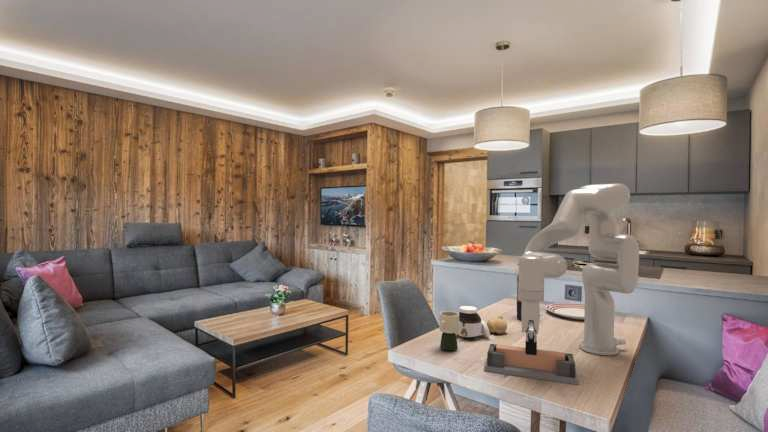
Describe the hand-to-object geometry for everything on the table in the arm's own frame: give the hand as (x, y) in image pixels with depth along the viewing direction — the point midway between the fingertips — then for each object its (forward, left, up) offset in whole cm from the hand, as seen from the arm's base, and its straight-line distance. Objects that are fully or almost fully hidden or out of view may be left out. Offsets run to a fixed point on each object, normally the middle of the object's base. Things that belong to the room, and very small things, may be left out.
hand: (531, 348), depth 124 cm
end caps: (+1, 0, -5) cm, 5 cm away
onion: (-6, -38, -7) cm, 39 cm away
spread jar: (+6, -34, -7) cm, 35 cm away
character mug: (+20, -22, -7) cm, 30 cm away
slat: (+1, 0, -5) cm, 5 cm away
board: (+1, 0, -7) cm, 7 cm away
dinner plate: (-57, -59, -7) cm, 83 cm away
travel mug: (-28, -55, -7) cm, 62 cm away
